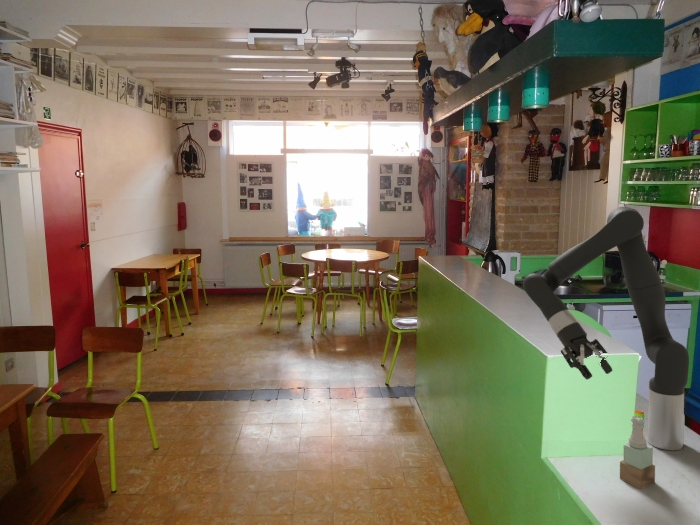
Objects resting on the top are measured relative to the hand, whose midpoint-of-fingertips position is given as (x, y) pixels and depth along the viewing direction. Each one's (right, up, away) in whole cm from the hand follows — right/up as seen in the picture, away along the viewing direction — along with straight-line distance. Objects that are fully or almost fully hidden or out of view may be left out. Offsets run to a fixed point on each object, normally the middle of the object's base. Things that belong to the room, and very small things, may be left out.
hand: (599, 375), depth 150 cm
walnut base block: (+7, -27, -8) cm, 29 cm away
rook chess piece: (+6, -17, -9) cm, 20 cm away
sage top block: (+6, -22, -8) cm, 25 cm away
